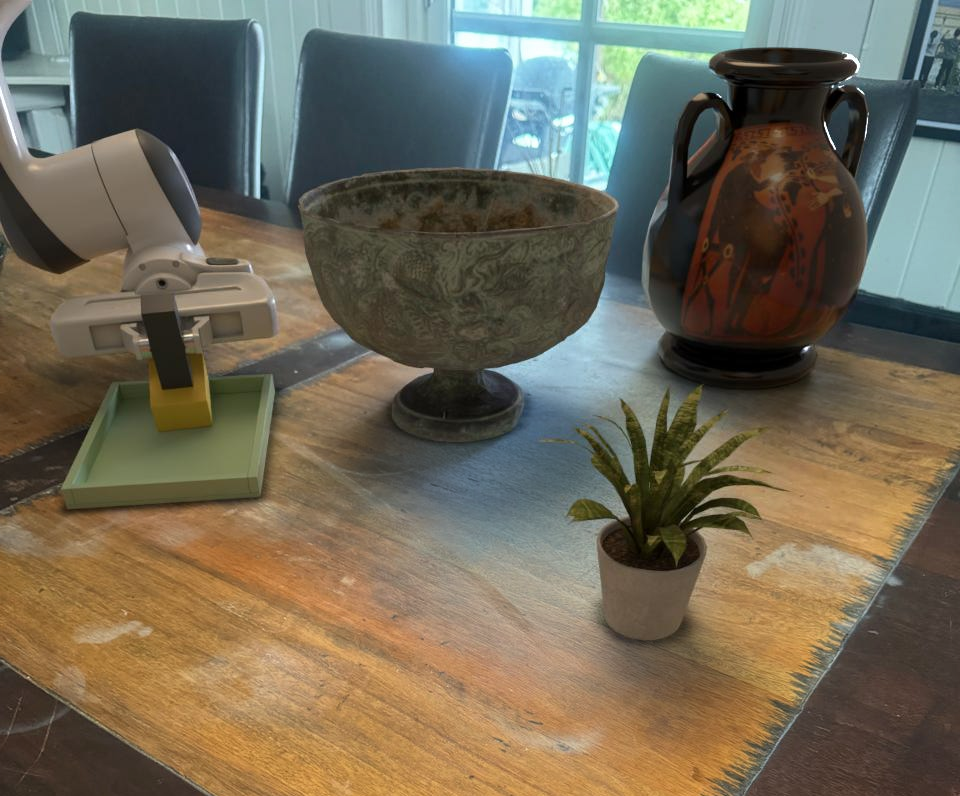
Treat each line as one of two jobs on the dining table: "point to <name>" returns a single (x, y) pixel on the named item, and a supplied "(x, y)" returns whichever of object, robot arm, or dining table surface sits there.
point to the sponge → (174, 369)
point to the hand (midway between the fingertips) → (168, 348)
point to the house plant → (660, 518)
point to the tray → (173, 448)
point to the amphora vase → (759, 221)
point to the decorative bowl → (458, 281)
